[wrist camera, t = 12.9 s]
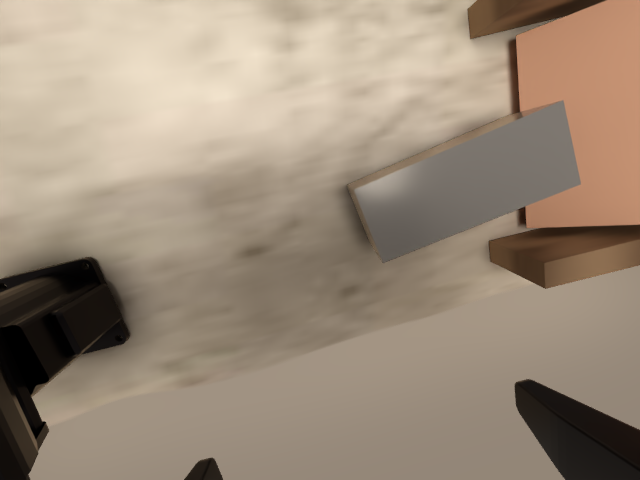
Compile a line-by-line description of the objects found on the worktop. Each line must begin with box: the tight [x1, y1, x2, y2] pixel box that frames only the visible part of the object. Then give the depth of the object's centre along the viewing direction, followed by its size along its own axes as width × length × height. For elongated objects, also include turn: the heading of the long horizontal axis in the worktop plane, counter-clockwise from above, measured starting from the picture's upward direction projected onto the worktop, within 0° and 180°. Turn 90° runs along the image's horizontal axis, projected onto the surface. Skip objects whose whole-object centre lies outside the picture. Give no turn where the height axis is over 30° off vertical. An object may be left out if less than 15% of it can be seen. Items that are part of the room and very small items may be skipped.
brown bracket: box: [468, 0, 640, 289], centre depth 17 cm, size 12×16×5 cm
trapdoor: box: [516, 0, 640, 228], centre depth 17 cm, size 10×12×4 cm
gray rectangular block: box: [347, 100, 581, 263], centre depth 18 cm, size 4×4×11 cm
